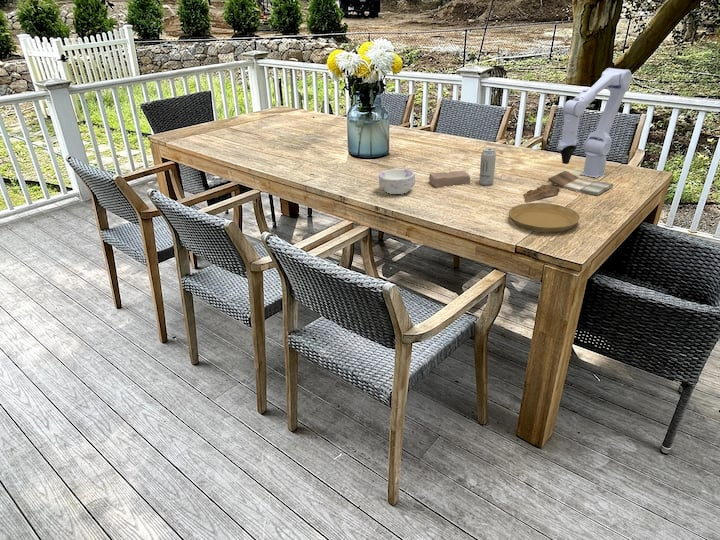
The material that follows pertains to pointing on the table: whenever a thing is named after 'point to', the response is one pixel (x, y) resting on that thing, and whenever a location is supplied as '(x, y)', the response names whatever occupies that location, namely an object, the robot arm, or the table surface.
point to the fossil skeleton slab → (541, 192)
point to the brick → (449, 178)
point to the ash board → (578, 184)
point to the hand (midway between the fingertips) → (565, 163)
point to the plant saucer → (544, 217)
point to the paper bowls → (397, 180)
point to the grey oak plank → (596, 188)
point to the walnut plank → (562, 178)
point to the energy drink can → (487, 166)
